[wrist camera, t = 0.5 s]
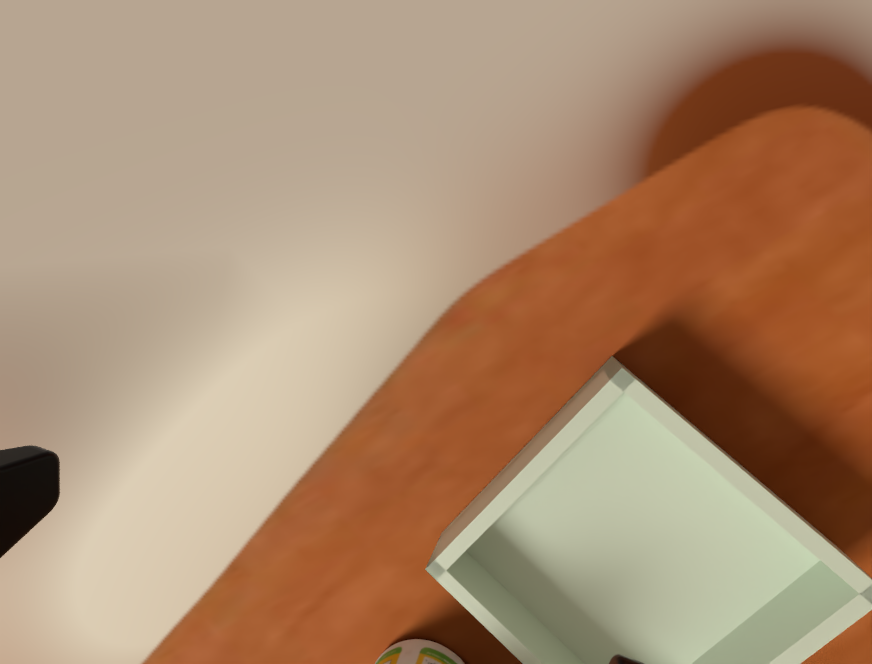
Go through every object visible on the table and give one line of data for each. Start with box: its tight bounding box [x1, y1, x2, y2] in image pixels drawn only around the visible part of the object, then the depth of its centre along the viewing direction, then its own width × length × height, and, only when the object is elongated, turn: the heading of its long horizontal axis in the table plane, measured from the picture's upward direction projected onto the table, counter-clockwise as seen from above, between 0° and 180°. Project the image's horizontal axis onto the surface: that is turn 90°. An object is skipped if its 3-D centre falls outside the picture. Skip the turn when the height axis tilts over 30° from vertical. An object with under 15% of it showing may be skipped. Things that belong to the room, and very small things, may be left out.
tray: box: [425, 356, 872, 664], centre depth 19 cm, size 11×11×3 cm
